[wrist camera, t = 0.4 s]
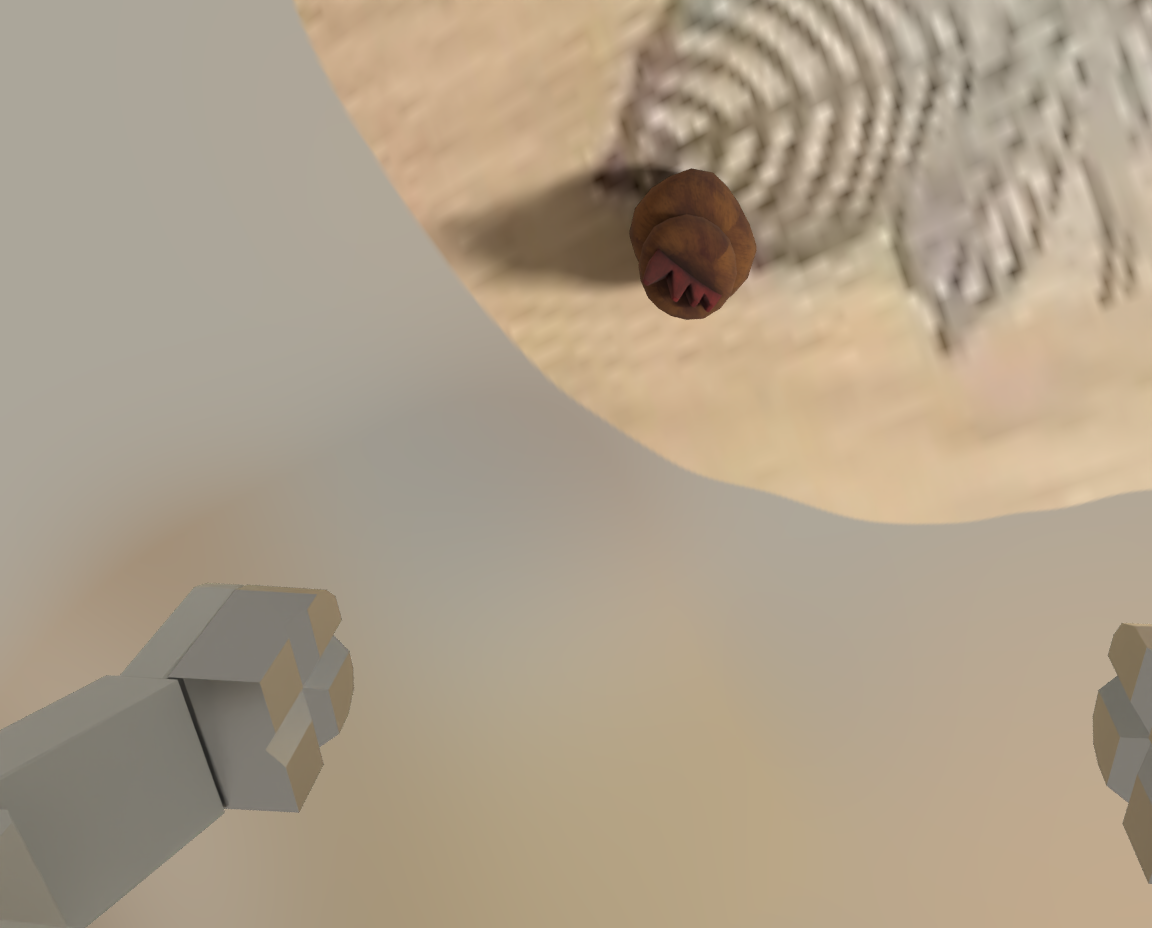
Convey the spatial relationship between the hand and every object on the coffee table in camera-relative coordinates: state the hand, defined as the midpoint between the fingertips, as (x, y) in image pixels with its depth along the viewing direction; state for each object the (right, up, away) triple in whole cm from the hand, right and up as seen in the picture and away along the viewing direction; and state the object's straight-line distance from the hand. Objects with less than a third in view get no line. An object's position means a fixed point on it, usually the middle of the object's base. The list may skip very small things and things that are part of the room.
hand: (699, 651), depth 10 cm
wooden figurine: (+6, +16, +44) cm, 47 cm away
